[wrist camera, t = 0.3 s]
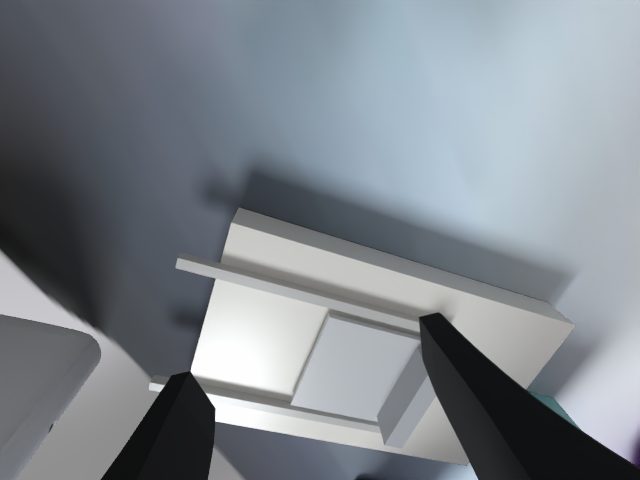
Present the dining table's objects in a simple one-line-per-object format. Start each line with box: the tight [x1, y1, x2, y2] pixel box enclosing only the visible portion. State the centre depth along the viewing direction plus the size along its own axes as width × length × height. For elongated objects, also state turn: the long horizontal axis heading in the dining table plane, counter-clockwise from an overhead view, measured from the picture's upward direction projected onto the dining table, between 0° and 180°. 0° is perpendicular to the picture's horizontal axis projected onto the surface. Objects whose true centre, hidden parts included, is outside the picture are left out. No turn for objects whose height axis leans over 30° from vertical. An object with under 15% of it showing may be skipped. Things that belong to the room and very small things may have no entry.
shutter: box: [291, 313, 436, 448], centre depth 20 cm, size 7×7×2 cm
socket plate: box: [149, 208, 576, 466], centre depth 22 cm, size 14×24×3 cm, turn 70°
